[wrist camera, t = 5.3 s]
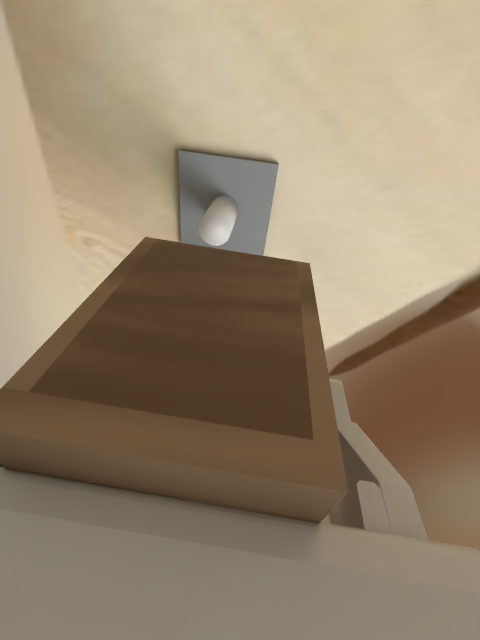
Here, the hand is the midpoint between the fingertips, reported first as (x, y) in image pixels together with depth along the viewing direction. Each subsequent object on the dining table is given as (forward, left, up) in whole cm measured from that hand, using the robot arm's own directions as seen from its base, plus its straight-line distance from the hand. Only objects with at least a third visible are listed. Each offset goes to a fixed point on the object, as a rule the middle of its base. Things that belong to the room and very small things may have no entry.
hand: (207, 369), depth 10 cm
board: (0, -2, -19) cm, 19 cm away
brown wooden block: (0, 0, -3) cm, 3 cm away
